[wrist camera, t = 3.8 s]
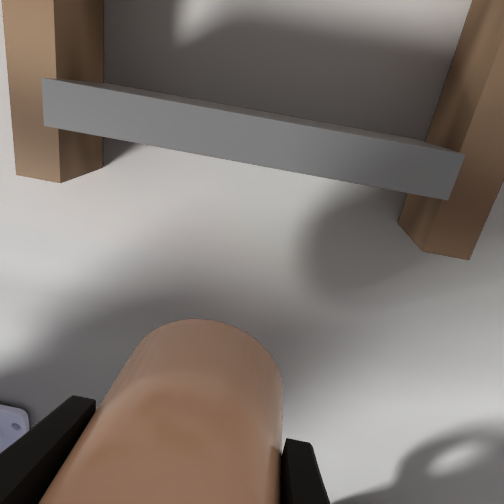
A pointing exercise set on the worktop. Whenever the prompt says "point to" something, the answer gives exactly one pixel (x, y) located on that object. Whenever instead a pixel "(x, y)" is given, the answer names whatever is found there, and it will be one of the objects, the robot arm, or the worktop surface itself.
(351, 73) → the worktop surface
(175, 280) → the worktop surface
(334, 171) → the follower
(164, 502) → the jar
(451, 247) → the brown wooden frame
